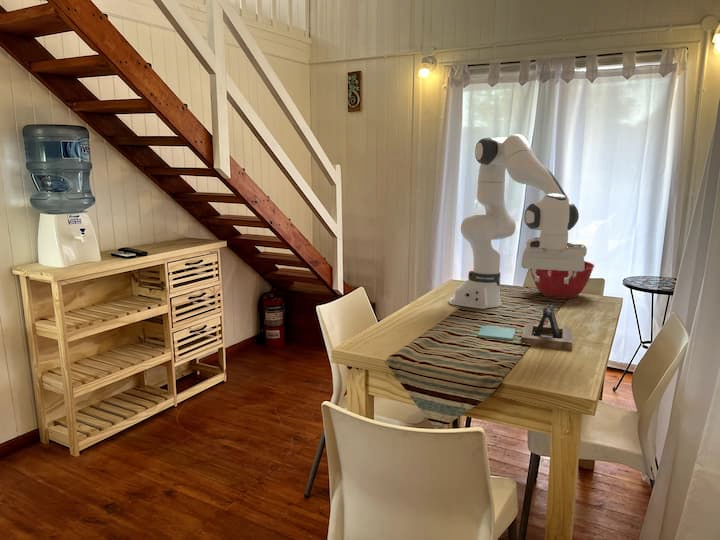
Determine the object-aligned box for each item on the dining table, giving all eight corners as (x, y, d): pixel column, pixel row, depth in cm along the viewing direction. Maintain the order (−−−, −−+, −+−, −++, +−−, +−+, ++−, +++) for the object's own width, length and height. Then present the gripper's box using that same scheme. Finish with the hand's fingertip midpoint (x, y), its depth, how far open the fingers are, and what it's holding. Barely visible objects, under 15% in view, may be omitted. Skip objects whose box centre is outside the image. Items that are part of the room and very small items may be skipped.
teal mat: (477, 336, 191) (477, 334, 191) (482, 327, 202) (482, 325, 202) (512, 340, 187) (512, 338, 187) (515, 330, 198) (515, 328, 198)
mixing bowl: (587, 306, 233) (590, 271, 230) (520, 298, 247) (522, 264, 244) (595, 292, 257) (597, 260, 254) (533, 286, 271) (535, 255, 268)
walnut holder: (521, 344, 183) (521, 337, 183) (524, 329, 200) (525, 322, 199) (571, 349, 178) (572, 342, 177) (571, 334, 194) (571, 327, 194)
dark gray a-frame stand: (561, 338, 189) (564, 305, 187) (559, 343, 184) (561, 309, 182) (535, 335, 193) (537, 302, 191) (531, 339, 188) (534, 306, 186)
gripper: (586, 242, 182) (583, 282, 184) (523, 240, 189) (521, 279, 191) (587, 244, 176) (584, 286, 178) (522, 242, 183) (520, 282, 185)
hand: (551, 282), depth 185 cm, fingers open, 8 cm apart
